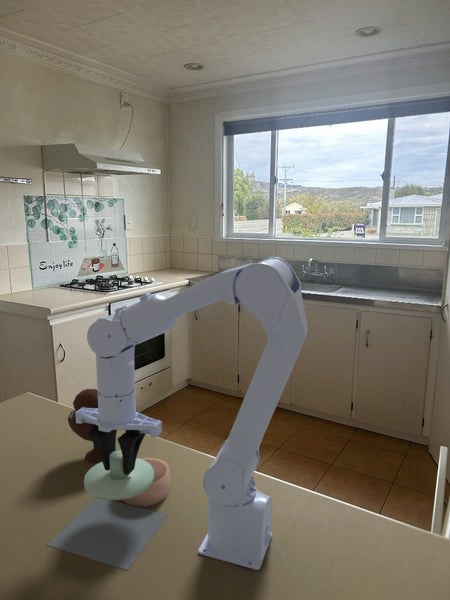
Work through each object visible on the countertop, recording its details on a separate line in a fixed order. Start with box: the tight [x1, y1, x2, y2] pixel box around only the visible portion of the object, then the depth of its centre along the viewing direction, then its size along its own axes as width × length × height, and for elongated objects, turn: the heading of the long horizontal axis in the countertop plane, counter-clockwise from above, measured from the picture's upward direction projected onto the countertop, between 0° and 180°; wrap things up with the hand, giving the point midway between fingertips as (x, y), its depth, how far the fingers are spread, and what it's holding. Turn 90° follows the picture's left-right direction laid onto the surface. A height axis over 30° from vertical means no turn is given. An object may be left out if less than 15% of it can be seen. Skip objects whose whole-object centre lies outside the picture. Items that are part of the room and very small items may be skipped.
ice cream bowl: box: [67, 388, 102, 464], centre depth 92 cm, size 11×11×15 cm
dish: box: [121, 457, 171, 507], centre depth 81 cm, size 9×9×4 cm
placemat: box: [46, 497, 169, 571], centre depth 72 cm, size 14×13×1 cm
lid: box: [83, 449, 154, 501], centre depth 73 cm, size 11×11×4 cm
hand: (119, 469), depth 73 cm, fingers closed on lid, 3 cm apart
